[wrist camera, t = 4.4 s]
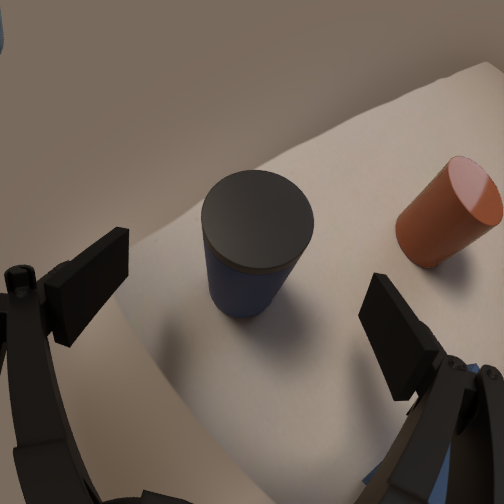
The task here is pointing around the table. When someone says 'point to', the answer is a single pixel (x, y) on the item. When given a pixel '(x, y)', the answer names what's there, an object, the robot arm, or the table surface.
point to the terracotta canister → (449, 213)
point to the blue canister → (253, 238)
